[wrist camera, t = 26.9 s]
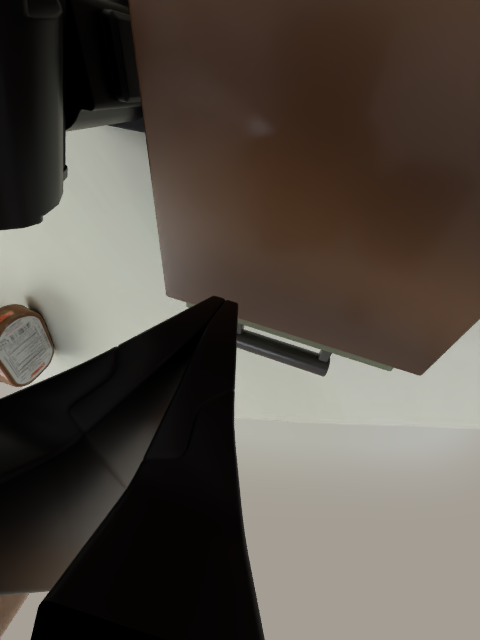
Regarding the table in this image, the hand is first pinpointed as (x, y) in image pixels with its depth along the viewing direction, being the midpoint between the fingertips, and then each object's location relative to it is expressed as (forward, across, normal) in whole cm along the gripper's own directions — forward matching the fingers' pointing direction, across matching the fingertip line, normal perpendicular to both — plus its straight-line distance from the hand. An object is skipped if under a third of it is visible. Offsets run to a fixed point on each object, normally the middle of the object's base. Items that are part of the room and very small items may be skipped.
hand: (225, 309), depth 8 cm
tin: (+12, +33, +29) cm, 46 cm away
